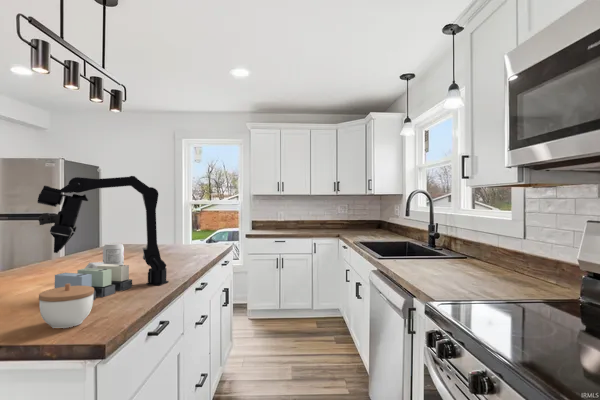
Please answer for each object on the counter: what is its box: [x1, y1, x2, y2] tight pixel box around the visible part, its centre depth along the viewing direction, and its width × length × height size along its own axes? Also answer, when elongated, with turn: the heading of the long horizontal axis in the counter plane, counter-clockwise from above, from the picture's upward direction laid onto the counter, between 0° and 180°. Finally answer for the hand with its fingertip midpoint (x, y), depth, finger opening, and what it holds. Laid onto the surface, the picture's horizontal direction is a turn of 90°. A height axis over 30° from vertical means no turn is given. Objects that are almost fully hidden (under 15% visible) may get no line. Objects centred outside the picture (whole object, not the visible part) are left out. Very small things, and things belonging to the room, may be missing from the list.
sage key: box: [77, 267, 112, 287], centre depth 126 cm, size 11×4×6 cm, turn 77°
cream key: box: [97, 264, 130, 281], centre depth 135 cm, size 11×4×6 cm, turn 77°
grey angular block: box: [84, 261, 104, 269], centre depth 145 cm, size 8×9×10 cm
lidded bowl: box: [38, 284, 94, 329], centre depth 95 cm, size 13×13×11 cm
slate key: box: [54, 272, 92, 288], centre depth 117 cm, size 11×4×6 cm, turn 77°
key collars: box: [91, 278, 133, 301], centre depth 126 cm, size 13×24×3 cm, turn 167°
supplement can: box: [102, 242, 125, 265], centre depth 153 cm, size 8×8×15 cm
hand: (57, 251), depth 127 cm, fingers open, 9 cm apart
